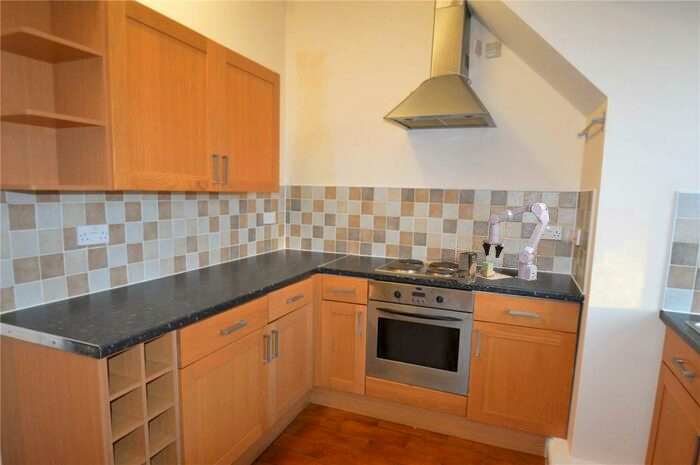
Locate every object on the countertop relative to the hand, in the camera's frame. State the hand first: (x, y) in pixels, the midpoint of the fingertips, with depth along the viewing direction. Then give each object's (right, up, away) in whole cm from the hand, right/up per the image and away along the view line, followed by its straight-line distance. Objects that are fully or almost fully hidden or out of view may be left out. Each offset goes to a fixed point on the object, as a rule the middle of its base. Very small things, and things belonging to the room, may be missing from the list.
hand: (492, 256), depth 245 cm
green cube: (-7, -7, -11) cm, 15 cm away
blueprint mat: (-3, -11, -7) cm, 13 cm away
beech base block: (-7, -11, -11) cm, 17 cm away
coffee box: (-23, -13, -25) cm, 36 cm away
